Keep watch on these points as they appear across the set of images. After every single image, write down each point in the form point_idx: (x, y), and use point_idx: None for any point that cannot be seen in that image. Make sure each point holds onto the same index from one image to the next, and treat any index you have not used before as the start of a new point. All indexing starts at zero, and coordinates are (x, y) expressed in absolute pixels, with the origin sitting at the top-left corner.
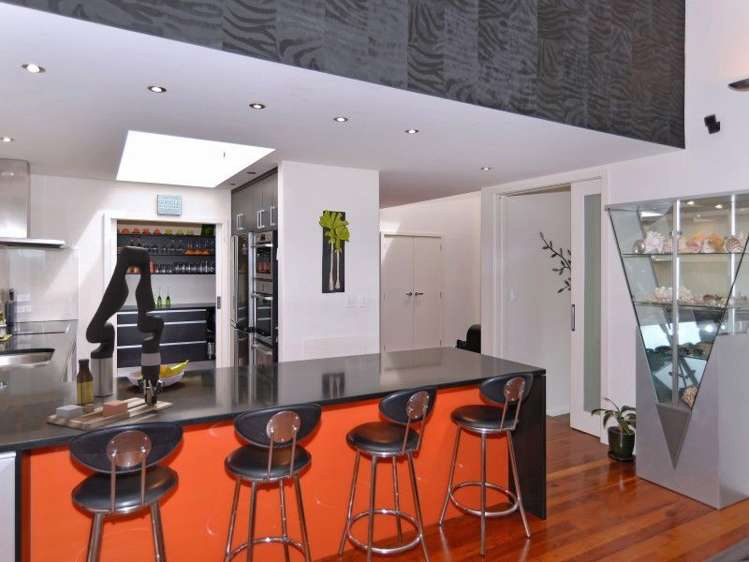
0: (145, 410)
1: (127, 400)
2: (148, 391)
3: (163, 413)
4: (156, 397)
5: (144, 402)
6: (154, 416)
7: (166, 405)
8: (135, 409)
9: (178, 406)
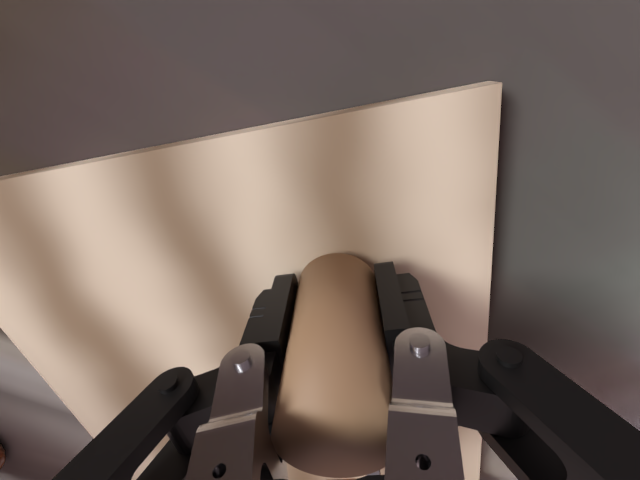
0: None
1: (1, 300)
2: (354, 463)
3: (606, 309)
4: (429, 327)
5: (184, 257)
6: (588, 381)
7: (494, 190)
8: None
9: (593, 50)
